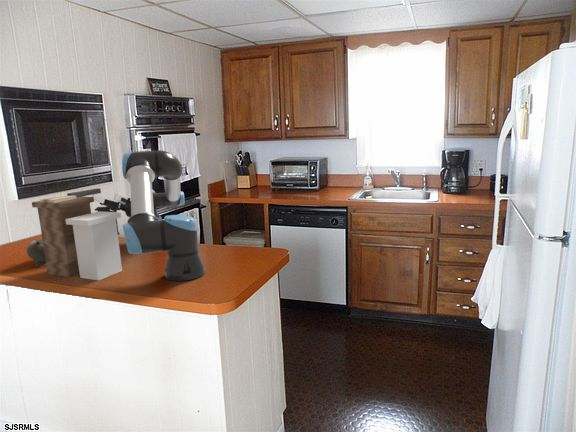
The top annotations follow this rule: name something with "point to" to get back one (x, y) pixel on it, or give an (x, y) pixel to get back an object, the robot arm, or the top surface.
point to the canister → (107, 209)
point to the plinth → (61, 234)
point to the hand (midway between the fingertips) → (103, 196)
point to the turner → (71, 196)
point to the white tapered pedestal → (97, 244)
